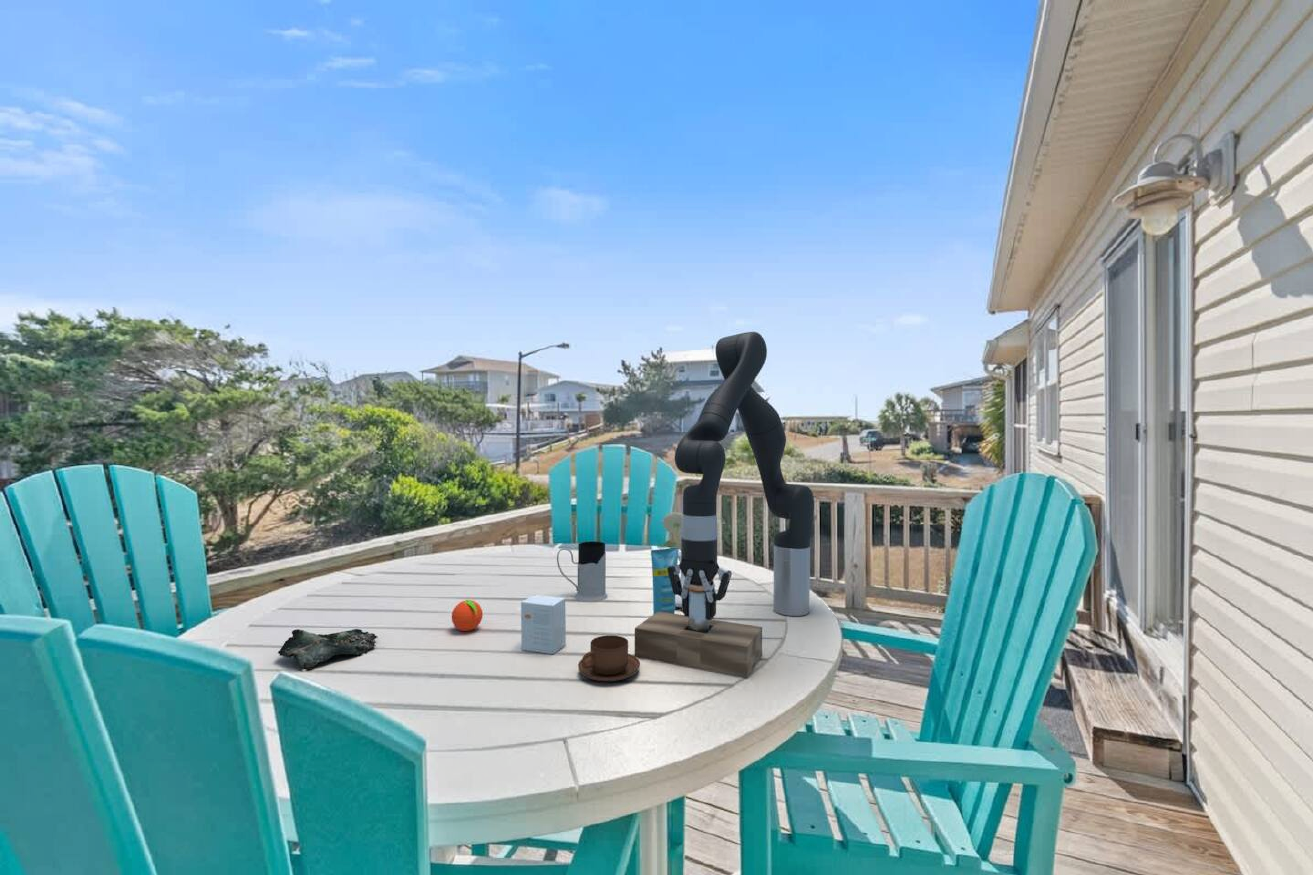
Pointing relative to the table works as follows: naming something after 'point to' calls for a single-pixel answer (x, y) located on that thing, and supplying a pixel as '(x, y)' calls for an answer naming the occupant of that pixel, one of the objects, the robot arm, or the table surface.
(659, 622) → the block
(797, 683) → the table surface
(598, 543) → the glass holder
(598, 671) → the cup and saucer
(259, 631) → the table surface
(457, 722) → the table surface
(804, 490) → the robot arm
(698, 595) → the plug
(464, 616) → the clementine
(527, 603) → the small box
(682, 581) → the flower in vase
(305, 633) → the decorative rock
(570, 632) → the table surface
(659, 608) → the tube
